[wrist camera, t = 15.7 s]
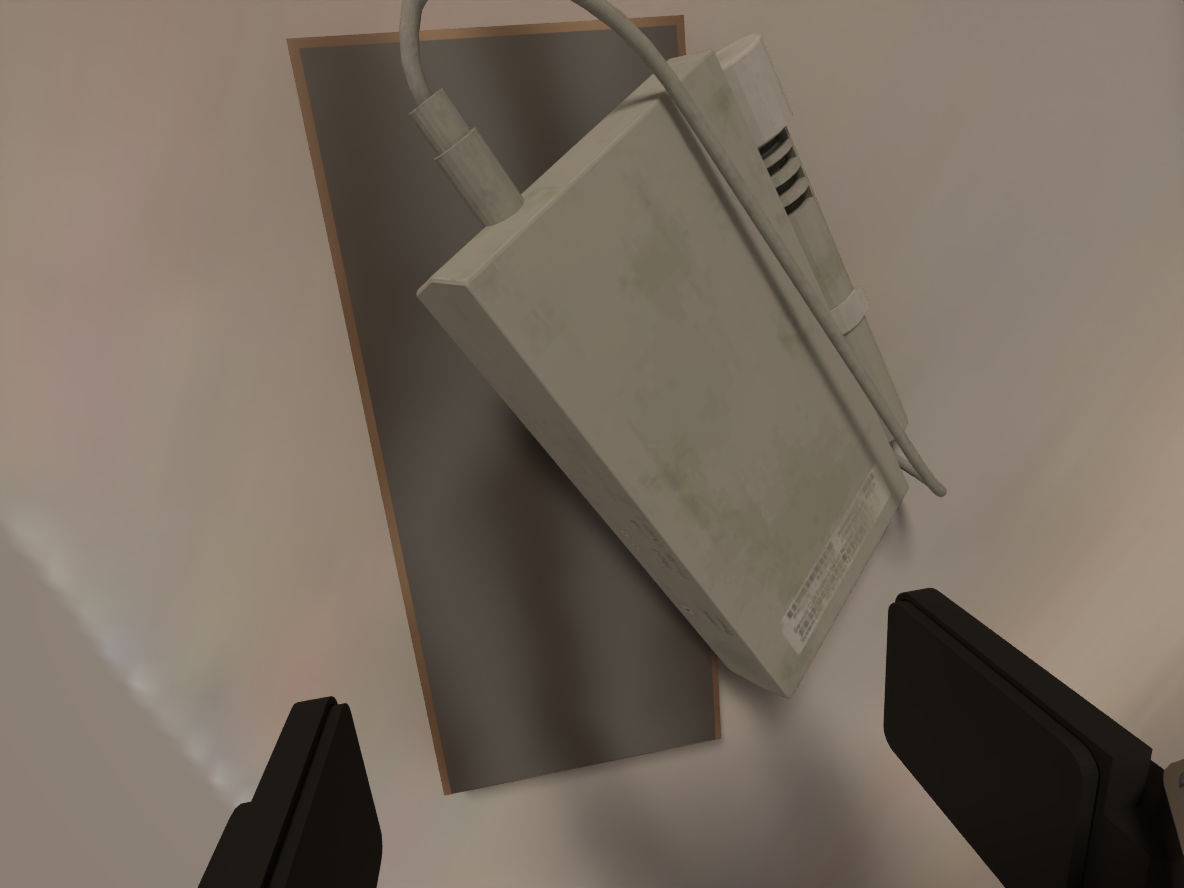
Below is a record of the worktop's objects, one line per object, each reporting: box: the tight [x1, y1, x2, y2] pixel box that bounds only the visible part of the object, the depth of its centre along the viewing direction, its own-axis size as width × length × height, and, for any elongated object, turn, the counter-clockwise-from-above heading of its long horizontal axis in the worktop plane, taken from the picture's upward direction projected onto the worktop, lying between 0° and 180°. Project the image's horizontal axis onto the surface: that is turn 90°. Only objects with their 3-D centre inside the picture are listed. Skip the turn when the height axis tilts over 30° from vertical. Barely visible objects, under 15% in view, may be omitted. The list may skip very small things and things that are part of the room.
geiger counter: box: [399, 0, 946, 699], centre depth 21 cm, size 14×6×25 cm
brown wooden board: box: [286, 15, 721, 796], centre depth 26 cm, size 13×30×2 cm, turn 6°
